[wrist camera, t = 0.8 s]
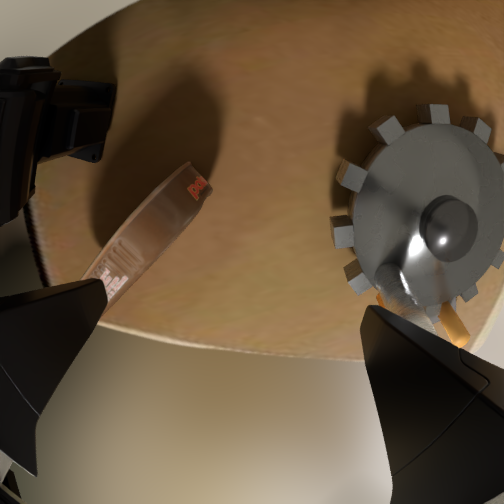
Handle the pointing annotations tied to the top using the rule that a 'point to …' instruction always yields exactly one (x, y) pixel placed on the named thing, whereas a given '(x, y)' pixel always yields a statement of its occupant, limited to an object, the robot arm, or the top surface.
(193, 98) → the top surface
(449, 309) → the rounded peg on base
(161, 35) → the top surface
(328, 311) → the top surface
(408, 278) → the sprocket
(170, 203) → the tin
